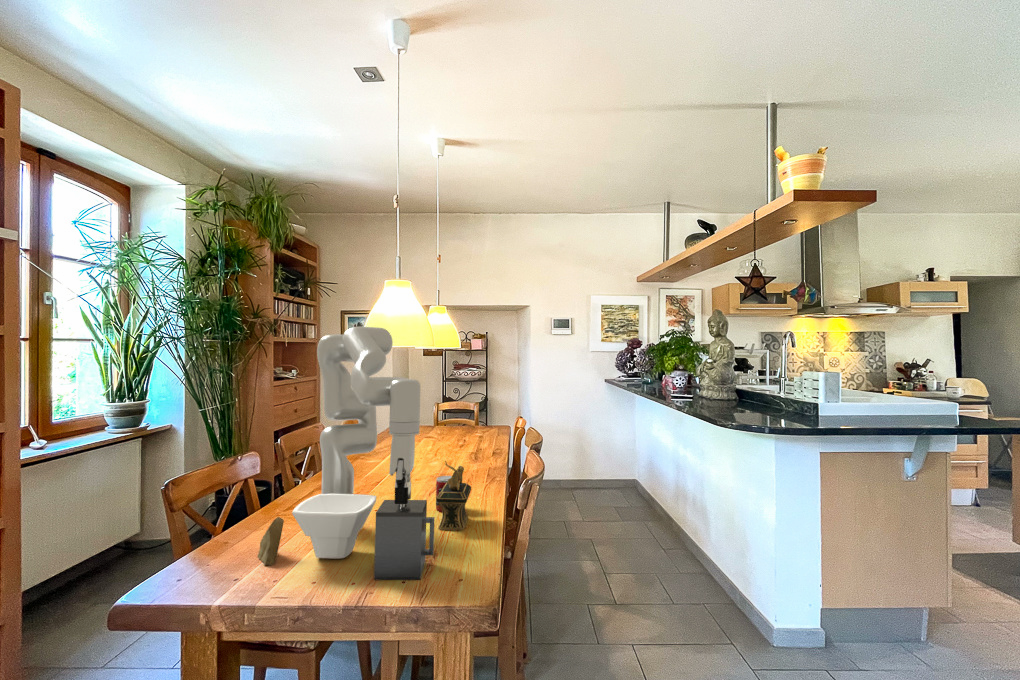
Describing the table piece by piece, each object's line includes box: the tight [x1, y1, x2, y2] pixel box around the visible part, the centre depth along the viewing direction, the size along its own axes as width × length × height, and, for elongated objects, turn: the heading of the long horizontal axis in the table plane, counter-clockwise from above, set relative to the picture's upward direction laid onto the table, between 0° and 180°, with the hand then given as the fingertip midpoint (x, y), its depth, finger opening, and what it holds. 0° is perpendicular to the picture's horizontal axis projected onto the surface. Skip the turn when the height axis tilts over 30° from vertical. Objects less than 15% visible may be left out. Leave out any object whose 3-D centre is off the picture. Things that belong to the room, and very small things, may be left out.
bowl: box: [291, 493, 377, 559], centre depth 138 cm, size 19×19×14 cm
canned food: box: [435, 475, 452, 513], centre depth 181 cm, size 8×8×11 cm
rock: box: [257, 516, 285, 566], centre depth 135 cm, size 11×9×10 cm
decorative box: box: [435, 460, 472, 531], centre depth 165 cm, size 20×10×20 cm, turn 179°
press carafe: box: [373, 499, 435, 581], centre depth 129 cm, size 14×11×16 cm
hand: (402, 500), depth 130 cm, fingers closed on plunger, 4 cm apart
